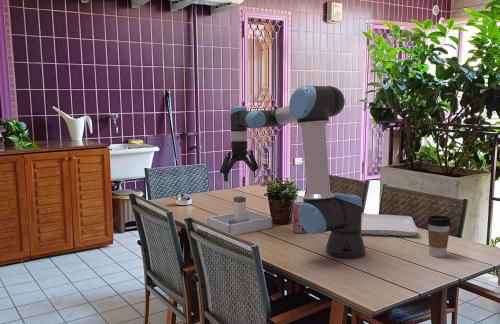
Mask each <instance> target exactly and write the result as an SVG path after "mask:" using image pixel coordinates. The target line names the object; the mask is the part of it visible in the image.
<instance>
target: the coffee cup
mask: <svg viewBox="0 0 500 324" xmlns="http://www.w3.org/2000/svg"><path fill="white" fill-rule="evenodd" d="M427 224H428V226H427V237H428V254H429V256H431V257H434V258H446V256H447V251H448V250H447V248H448V243H449V236H450V226H451V225H452V222H451V217H450V216H448V215H447V216H446V215H429V216H428V217H427Z"/></svg>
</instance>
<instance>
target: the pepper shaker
mask: <svg viewBox="0 0 500 324" xmlns="http://www.w3.org/2000/svg"><path fill="white" fill-rule="evenodd" d="M246 200H247V199H246V196H242V195H238V196H234V197H233V213H234V221H236V222H244V221H246V210H247V201H246Z"/></svg>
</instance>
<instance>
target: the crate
mask: <svg viewBox="0 0 500 324" xmlns="http://www.w3.org/2000/svg"><path fill="white" fill-rule="evenodd" d="M206 218H207V225H208V224H209V225H211V226H213V227H216V228H218V229H220V230H222V231H225V232H228V233H230V234H233V235H236V236H240V235H244V234H250V233H254V232H259V231H263V230H269V229H272V228H273V217H272V216H270V215H266V214H263V213H260V212H257V211H254V210H251V209H246V221H244V222H236V221H234V212H230V213H224V214H219V215H213V216H208V217H206Z"/></svg>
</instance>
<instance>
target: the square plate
mask: <svg viewBox="0 0 500 324" xmlns="http://www.w3.org/2000/svg"><path fill="white" fill-rule="evenodd" d="M370 234H371V236H388V235H393V236H392V237H413V236H415V235H417V234H419V230H418V227H417V225H416V224H415V221H414V219H413V217H412V216H409V215H408V216H407V215H399V214H398V215H395V214H381V213H380V214H379V213H378V214H377V213H376V214H375V213H374V214H371V213H370V214H369V213H368V214H366V213H365V214H364V213H362V225H361V235H369V236H370Z"/></svg>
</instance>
